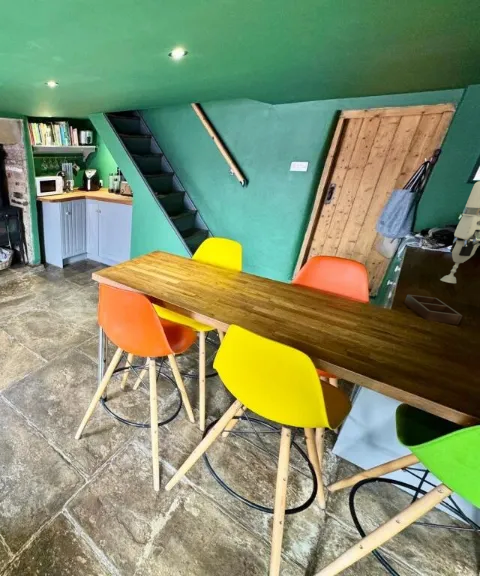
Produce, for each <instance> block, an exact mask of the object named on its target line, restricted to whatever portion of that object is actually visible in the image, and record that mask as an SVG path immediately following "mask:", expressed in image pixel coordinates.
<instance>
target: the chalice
mask: <svg viewBox="0 0 480 576" xmlns="http://www.w3.org/2000/svg"><path fill="white" fill-rule="evenodd" d="M469 242H470V241H468V243H469ZM464 243H465V241H462V239H461V240H456V245H455V247H454V249H453V251H452V252H451V257H452V261H453V263H454V265H453V266H452V269H451V270H450V273H449V274H448V275H447V274H446V275H444V276H443V277H442V278H440V279H439V280H440V281H442V282H445V283H449V284H457V278H456V276H455V275H454V274H455V273H457V269H458V268H459V265H460V264H464V262H465V263H466V261H468V260H470V259H471V258H472V257H473V256H474V255H475V254H476V251H477V249H478V247H479V246H480V242H478V243H477V244H476V245H475V247H474V248H473V250H472V252H471V255H470V256H460V255H459V253H460V251H461V248H462V246H464Z"/></svg>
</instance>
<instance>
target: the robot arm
mask: <svg viewBox="0 0 480 576" xmlns="http://www.w3.org/2000/svg"><path fill="white" fill-rule="evenodd" d="M461 215H462V216H461V218H460V219H459V222H458V224H457V226H456V228H455V231H454V233H453V235H454V237H453V241H452V245H451V247H450V250H449V252H450V253H452V251H453V249H454V247H455V245H456V240H462V241H465V243H464V246H462V248H461V251H460V253H459V255H460V256H470V255H471V252H472V250H473V248H474V247H475V245H476V244H477V243H480V180H478V181H476V182H475V183H474V184H473V187H472V189H471V191H470V194H469V196H468V198H467V201H466V204H465V207H464V208H463V211H462V213H461ZM468 241H470V242H469V243H468Z"/></svg>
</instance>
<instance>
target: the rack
mask: <svg viewBox="0 0 480 576" xmlns="http://www.w3.org/2000/svg"><path fill="white" fill-rule="evenodd" d="M403 304H404V305H405V306H407V307H406V308H407V309H408V310H412V311H413V310H414V311H415V312H416V313H417V314H418V315H420V317H422V319H423V320H427V321H432V322H437V323H444V324H452V325H459V324H460V322H461V320H462V317H463V315H462V314H461V313H460V312H458V311H456V310H455V309H453V308H452V307H450V305H447V304H446V303H445V302H443V301H442V300H440V299H439V298H437V297H432V296H424V295H415V294H409V293H408V294H406V297H405V299H404V301H403Z"/></svg>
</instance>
